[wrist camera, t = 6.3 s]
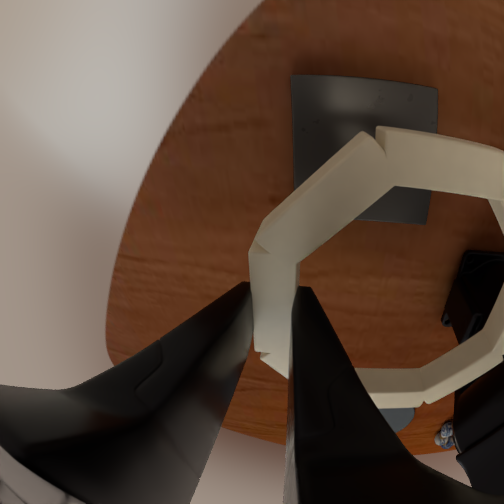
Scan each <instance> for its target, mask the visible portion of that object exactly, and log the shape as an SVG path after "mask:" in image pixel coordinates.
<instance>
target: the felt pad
mask: <svg viewBox="0 0 504 504" xmlns="http://www.w3.org/2000/svg"><path fill="white" fill-rule="evenodd" d="M379 410H380V412H381V413H382V415H383V416H384V418H385V419H386V421H387V422H388V423H389V425H390V426H391V428H392V429H393V431H394V432H395V433H396V432H398V431H400V430H402V429H403V428H404V427H406V426H407V425H408V424H409V423H410V422H411V420H412V419H413V417H414V412H415V411H414V407H412V408H382V409H379Z"/></svg>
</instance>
